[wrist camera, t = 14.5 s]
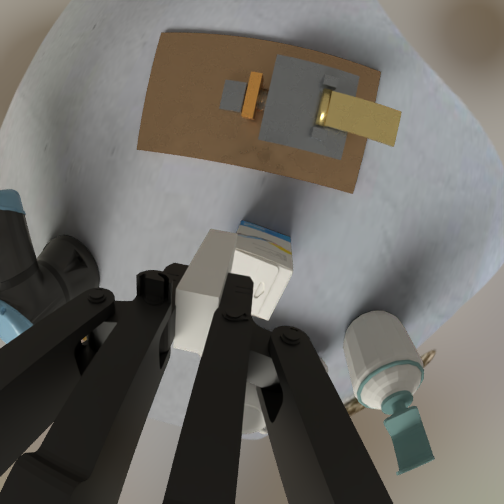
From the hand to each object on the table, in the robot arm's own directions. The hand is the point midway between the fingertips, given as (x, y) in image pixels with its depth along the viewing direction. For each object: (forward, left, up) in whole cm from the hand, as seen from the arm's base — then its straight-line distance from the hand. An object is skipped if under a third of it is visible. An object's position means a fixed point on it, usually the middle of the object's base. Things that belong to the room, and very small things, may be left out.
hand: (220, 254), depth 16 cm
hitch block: (-2, +12, -29) cm, 31 cm away
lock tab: (+10, +12, -18) cm, 24 cm away
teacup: (+8, -44, -29) cm, 53 cm away
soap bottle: (+28, -22, -29) cm, 46 cm away
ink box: (+3, -11, -29) cm, 31 cm away
